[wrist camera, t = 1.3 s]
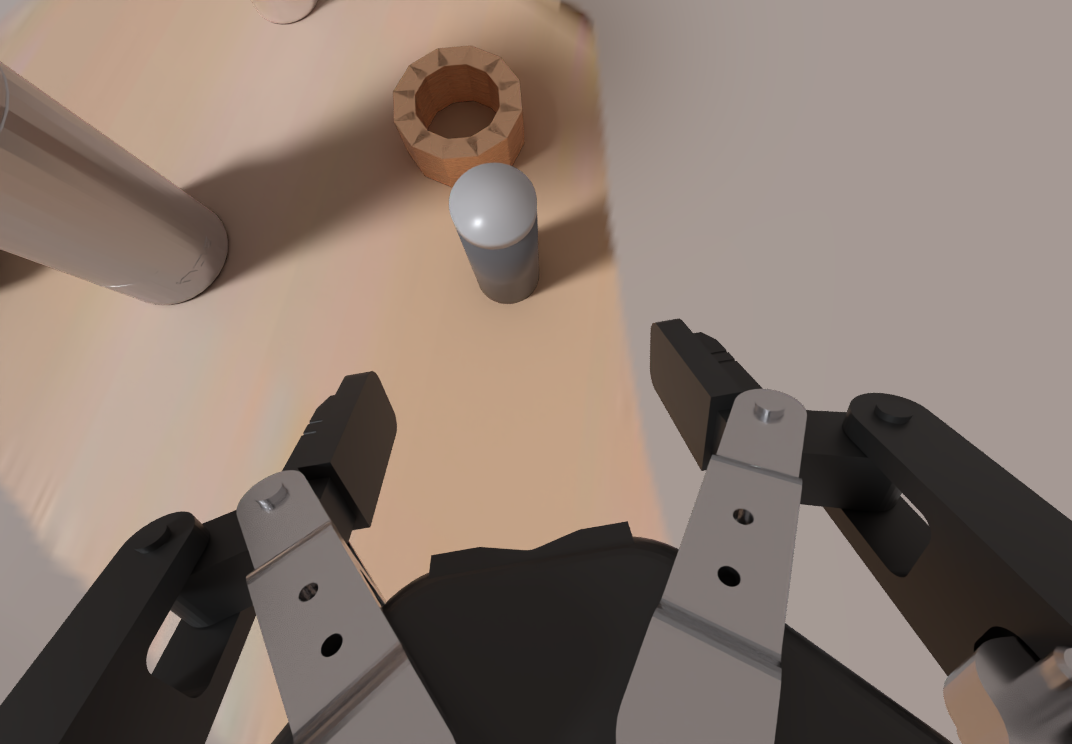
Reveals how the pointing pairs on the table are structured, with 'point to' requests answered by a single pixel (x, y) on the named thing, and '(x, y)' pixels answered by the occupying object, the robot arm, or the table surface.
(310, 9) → the beer glass
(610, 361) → the table surface
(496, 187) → the plug
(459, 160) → the wooden polygonal ring
